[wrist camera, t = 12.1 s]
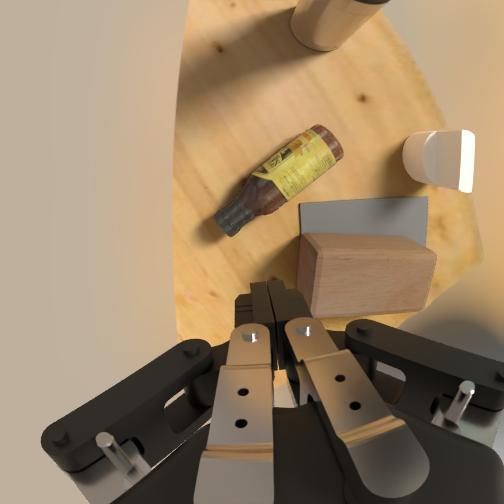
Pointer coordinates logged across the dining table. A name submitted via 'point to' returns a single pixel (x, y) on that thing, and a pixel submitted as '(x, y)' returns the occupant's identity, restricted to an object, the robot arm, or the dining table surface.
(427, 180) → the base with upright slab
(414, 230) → the mat
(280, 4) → the dining table surface
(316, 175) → the sauce bottle
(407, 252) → the block
